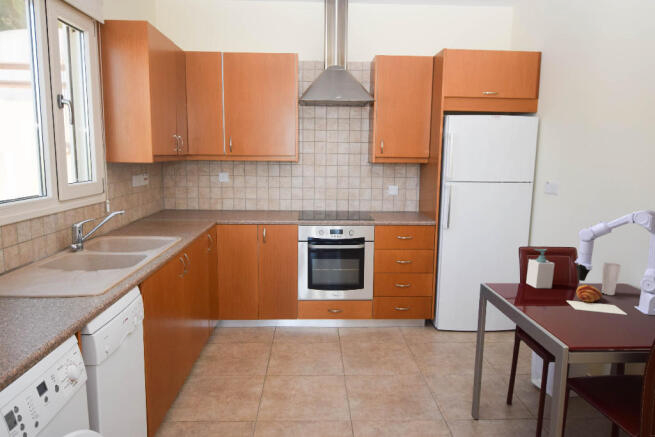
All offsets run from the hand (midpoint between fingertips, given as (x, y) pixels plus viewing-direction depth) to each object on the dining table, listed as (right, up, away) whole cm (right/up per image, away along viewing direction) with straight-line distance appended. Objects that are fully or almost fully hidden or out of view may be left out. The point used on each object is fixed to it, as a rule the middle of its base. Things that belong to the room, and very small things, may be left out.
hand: (581, 280), depth 211 cm
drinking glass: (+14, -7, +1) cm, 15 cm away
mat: (-6, -9, -21) cm, 23 cm away
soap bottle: (-16, -4, +10) cm, 19 cm away
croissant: (-2, -8, -9) cm, 12 cm away
